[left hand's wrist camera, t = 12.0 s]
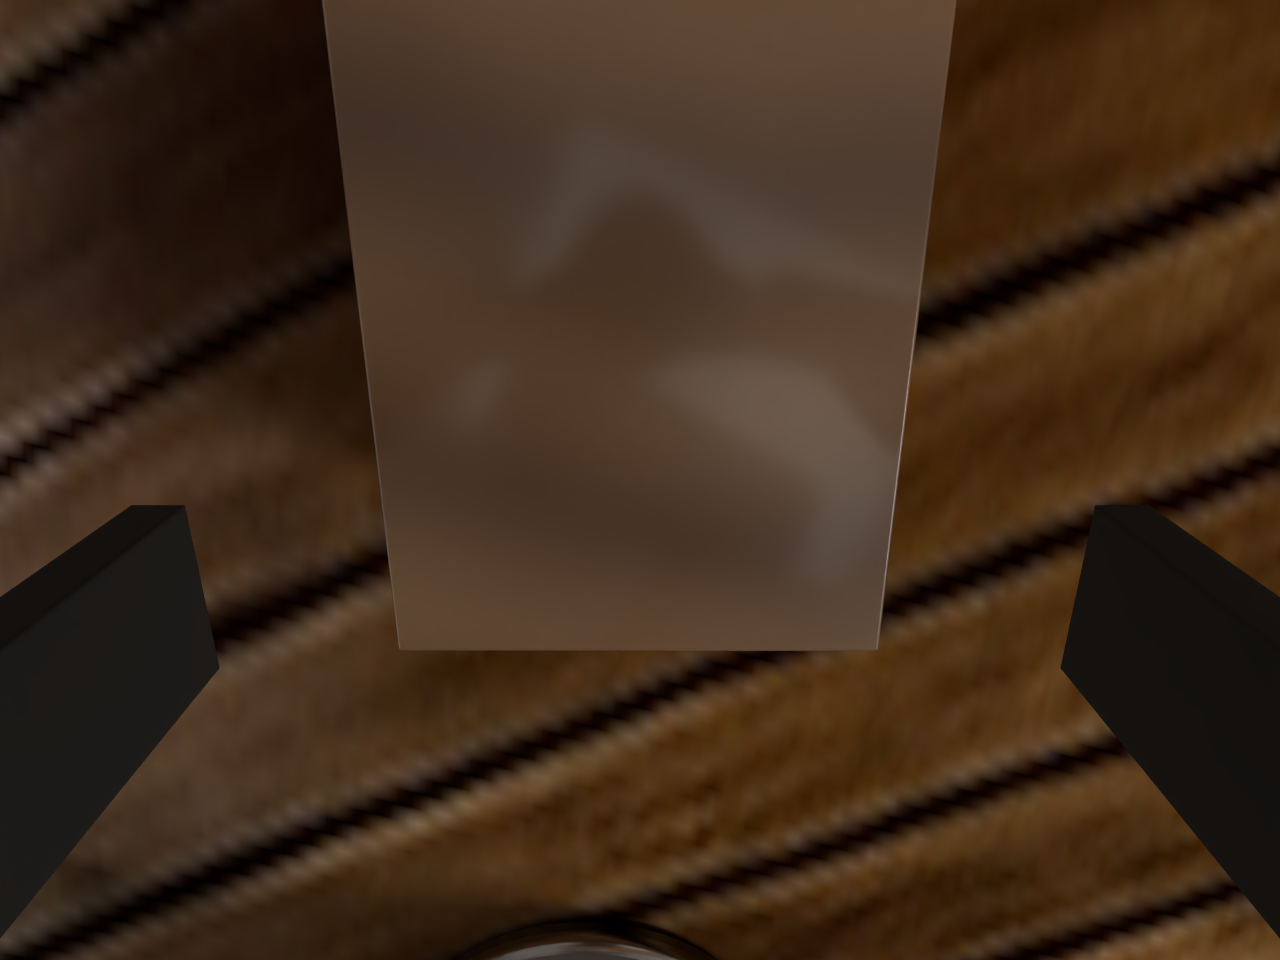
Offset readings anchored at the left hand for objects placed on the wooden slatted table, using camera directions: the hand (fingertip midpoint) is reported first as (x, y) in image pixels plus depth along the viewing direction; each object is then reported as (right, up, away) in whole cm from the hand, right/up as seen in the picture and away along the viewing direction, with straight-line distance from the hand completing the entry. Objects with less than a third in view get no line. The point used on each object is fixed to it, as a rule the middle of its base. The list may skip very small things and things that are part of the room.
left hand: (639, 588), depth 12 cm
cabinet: (0, +10, +10) cm, 15 cm away
